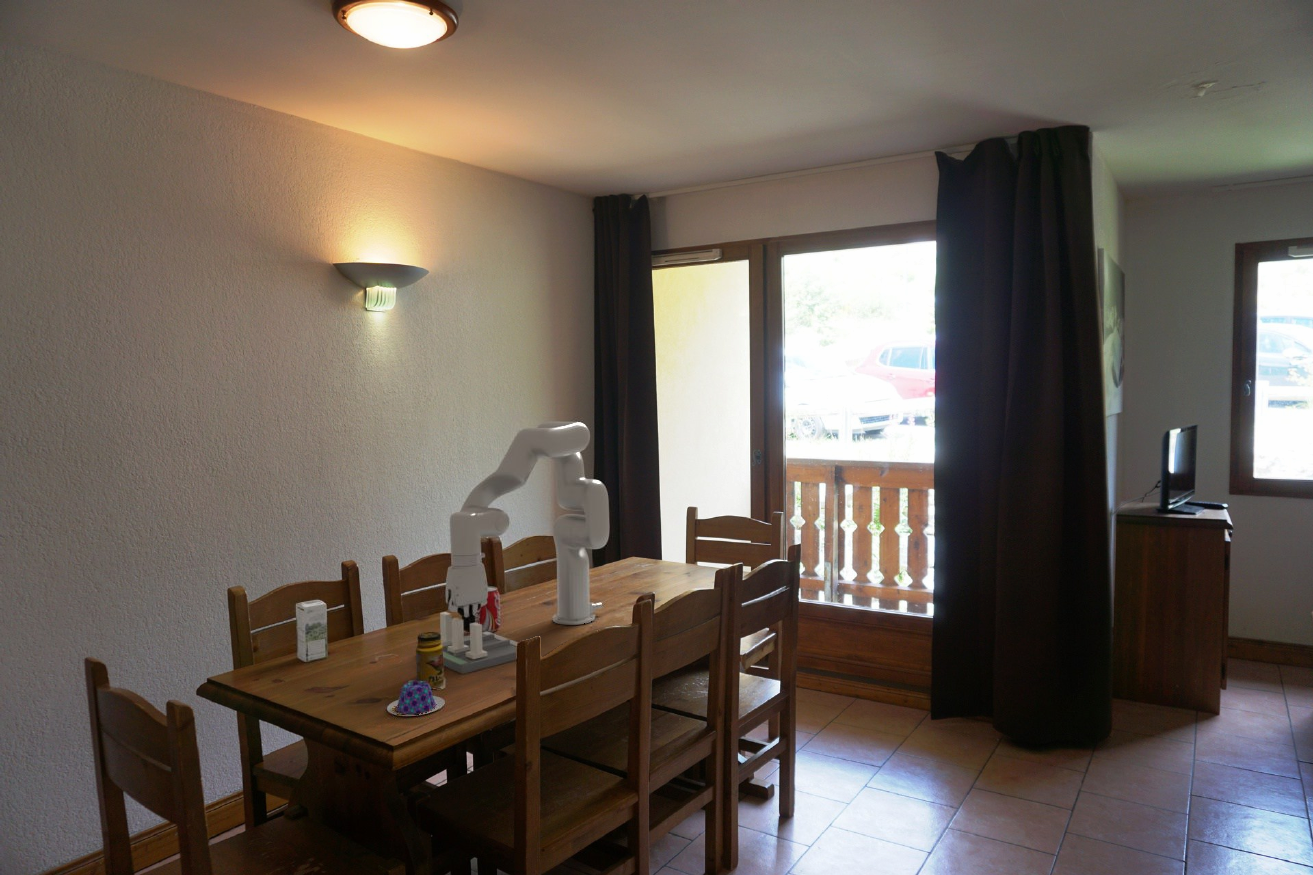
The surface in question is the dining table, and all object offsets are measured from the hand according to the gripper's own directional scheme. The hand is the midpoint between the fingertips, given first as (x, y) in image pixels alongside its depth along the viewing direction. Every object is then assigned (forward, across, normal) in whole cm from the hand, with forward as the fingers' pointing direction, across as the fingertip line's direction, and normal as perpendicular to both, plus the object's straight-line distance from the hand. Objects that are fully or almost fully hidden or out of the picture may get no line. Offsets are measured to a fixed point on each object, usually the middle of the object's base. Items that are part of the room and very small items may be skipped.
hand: (468, 630), depth 215 cm
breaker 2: (+4, +2, +7) cm, 9 cm away
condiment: (+7, +18, +12) cm, 23 cm away
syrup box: (+7, +29, -28) cm, 41 cm away
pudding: (+7, +27, +23) cm, 36 cm away
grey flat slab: (+7, -2, 0) cm, 7 cm away
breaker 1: (+4, +2, -8) cm, 9 cm away
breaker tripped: (+4, +3, 0) cm, 5 cm away
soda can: (+7, -17, -18) cm, 26 cm away
